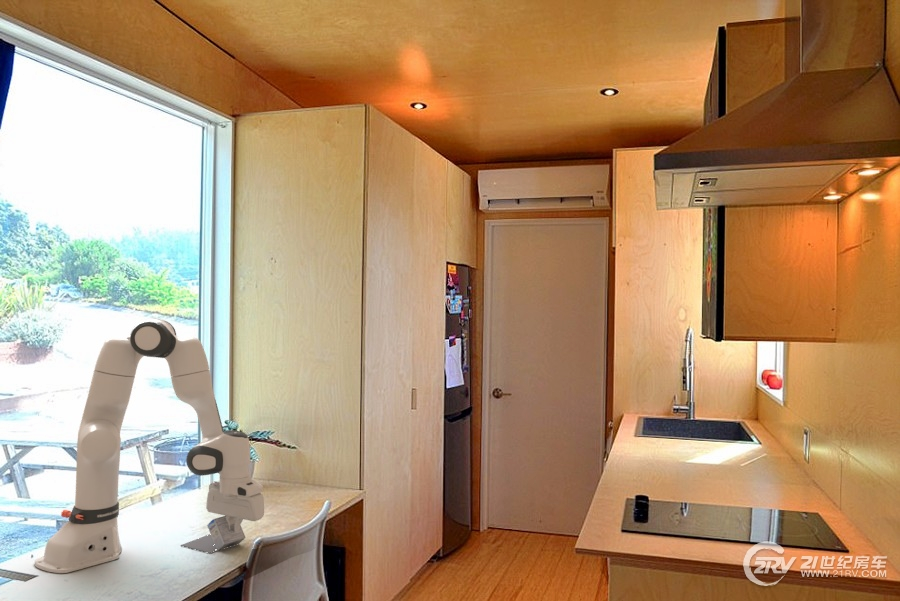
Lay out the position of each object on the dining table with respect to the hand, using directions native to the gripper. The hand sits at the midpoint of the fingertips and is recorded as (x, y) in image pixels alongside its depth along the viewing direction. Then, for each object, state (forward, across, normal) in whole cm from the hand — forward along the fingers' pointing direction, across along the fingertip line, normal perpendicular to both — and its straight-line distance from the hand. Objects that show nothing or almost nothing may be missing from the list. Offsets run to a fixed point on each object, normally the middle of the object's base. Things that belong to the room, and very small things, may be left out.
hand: (234, 530), depth 208 cm
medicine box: (+4, -1, 0) cm, 4 cm away
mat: (+5, -9, 0) cm, 11 cm away
